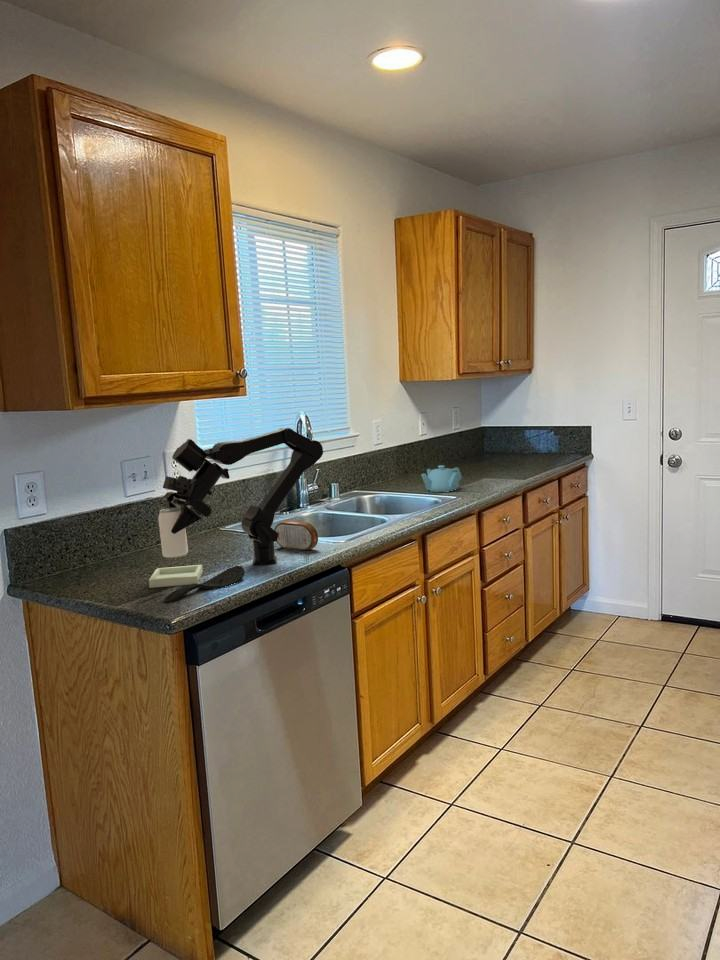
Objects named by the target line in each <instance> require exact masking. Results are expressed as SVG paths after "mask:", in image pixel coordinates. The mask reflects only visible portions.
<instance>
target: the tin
mask: <svg viewBox="0 0 720 960" xmlns="http://www.w3.org/2000/svg"><path fill="white" fill-rule="evenodd" d="M273 530H275V531H276V532H277V533H278V538H277V541H275V542H276V543H277V544H278V545H279V547H281V548H282V549H286V550H294V551H295V550H296V551H302V550H307V551H310V550H312V549H314V548H316V547H317V545H318V542H319V535H318V531H317V529H316V528H315V526H314V525H313V524H312V523H310V522H308V521H302V520H301V521H299V520H298V521H297V520H288V519H285V520H282V521H281V522H279V523H277V524H276V526H275V527H274V529H273Z"/></svg>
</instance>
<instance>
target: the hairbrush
mask: <svg viewBox="0 0 720 960" xmlns="http://www.w3.org/2000/svg"><path fill="white" fill-rule="evenodd" d="M232 564H233V565H232V566H230V567H227V568H226V569H225V566H223V569H222V568H221V572H220V571H217V572H218V573H217V574H216V572H214V573H213V574H212V573H211V574H210V575H209V576H210V577H209V576H207V578H206V577H203V578H202V579H201V578H200V580H198V581H199V582H200V581H202V582H200V583H198V584H190V585H184V586H183V587H181V588H178V589H176V590H173V591H171V593H169V594H168V595H167V596H165V598H164V599H163V603H164V604H170V603H175V602H177V601H178V600H179V599H181V598H183V597H184V596H185V595H186V594H188V593H189V592H192V591H194V590H196V589H199V588H200V589H204V590H215V589H217V588H219V589H222V588H221V587H224V588H226V587H225V586H228V587H230V586H229V585H231V584H234V583H237V582H238V583H240V582H241V581H242V580H243V578H244V576H245V574H246V570H245V569H244V567H243V565H240V563H239V562H237V564H238V565H237V564H236V562H234V563H232ZM211 575H212V576H211ZM239 581H240V582H239ZM238 583H237V584H238ZM214 588H215V589H214Z"/></svg>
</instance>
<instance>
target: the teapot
mask: <svg viewBox="0 0 720 960" xmlns="http://www.w3.org/2000/svg"><path fill="white" fill-rule="evenodd" d="M437 467H438V468H434V469H431V468H427V469H426V472H427V473H421V478H422V480H423V483H424V485H425V488H426V490H427V491H428V490H430V491H450V490H455V489H457V490H458V489H459V487H460V483H459V482H460V481H461V480H462V478H463V476H462V473H461V471H460V469H459V467H454V468H447V467H446V466H445V465H443V464H442V465H438V466H437ZM445 467H446V468H445Z"/></svg>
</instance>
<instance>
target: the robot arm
mask: <svg viewBox="0 0 720 960" xmlns="http://www.w3.org/2000/svg"><path fill="white" fill-rule="evenodd" d="M282 444H284V445H285V446H287V447H288V448H289V449H291V450H292V452H291V457H290V462H289V463H288V464H287V466H286V468H285V469H284V470H283V472H282V474H281V475H280V476H279V477H278V479H277V480H276V482H275V483H274V485H273V486H272V487H271V489H270V490H269V491H268V493H267V494H266V496H264V499H263V500H262V501H261V502H260V503H259V504H258V505H253V504H251V505H249V507H248V509H247V511H246V512H245V513H244V514H243V515H241V517H243V518H242V519H241V523H240V524H241V530H242V531H243V532H244V534H247V536H248V539H249V540H252V546H253V549H252V550H253V557H254V558H253V559H252V565H253V566H257V565H269V564H270V565H272V564H276V563H277V559H278V558H277V556H276V554H275V542H276V541H277V538H278V533H277V532H276V531H275V530H274V529H273V528H272V525H273V523H274V519H275V515H276V512H277V510H278V509H279V507H280V506H281V505H282V503H283V502H284V500H286V497H287V496H288V495H289V493H290V492H291V490H292V489H293V488H294V486H295V485H296V484H297V482H298V481H299V479H300V477H301V476H302V475H303V474H304V472H305V471H307V470H309V469H310V468H311V467H312V466H314V465H316V463H318V461H319V460H320V459H321V458H322V457H323V454H324V450H323V449H324V448H323V445H322V444H321V442H319V440H315V439H310V438H308V437H306V436H304V435H302V434H300V433H299V432H296V431H295V430H293V429H292V428H290V427H280V428H279V429H276V430H273V431H270V432H267V433H263V434H260V435H256V436H252V437H250V438H249V437H248V438H246V439H243V440H232V441H223V442H222V441H221V442H220V441H219V442H217V443H215V444H214V445H213V446H212V448H208V449H202V448H201V447H200V446H199V445H197V444H196V442H195V441H194V440H192V439H191V438H187V440H186V441H185V442H183V443H182V444H181V445H180V446H179V447H177V448H176V449H175V450H174V452H173V454H172V457H171V458H172V460H173V461H175V462H176V463H178V464H179V465H180V466H181V467H183V468H184V469H185V470H186V471H187V472H188V473H190V472H193V471H194V472H196V473H195V474H194V475H193V477H192V478H188V477H186V476H183V475H179V476H177V477H172V476H168V475H167V476H165V479H164V481H163V486H162V489H165V490H171V491H169V492H168V491H167V492H166V493H165V495H163V497H162V499H163V500H164V501H165V503H166V507H167V508H181V514H180V515H179V517H178V519H177V521H176V522H175V524H174V526H173V528H172V530H171V532H172V533H173V534H175V533H177V532H179V531H180V530H182V529H184V528H187V527H189V526H190V525H192V524H194V523H196V522H198V521H202V519H203V518H204V519H209V518H210V516H211V514H212V507H211V506H210V505H208V503H205V501H204V500H205V499H206V498H207V497H209V496H210V497H211V495H212V494H213V492H212V491H211V490H212V489H213V488H214V486H215V485H216V484H217V482H218V481H219V479H220V478H222V479H227V480H228V479H230V474H229V468H226V467H225V468H222V467H221V466H220V465H225V466H226V465H227V466H230V465H234V464H236V463H237V462H239V461H241V460H243V459H244V458H245V457H247V456H249V455H251V454H254V453H256V452H259V451H263V450H266V449H270V448H274V447H276V446H279V445H282ZM209 460H212V461H214V462H210V461H209ZM174 491H175V492H174ZM167 508H166V509H167Z"/></svg>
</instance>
